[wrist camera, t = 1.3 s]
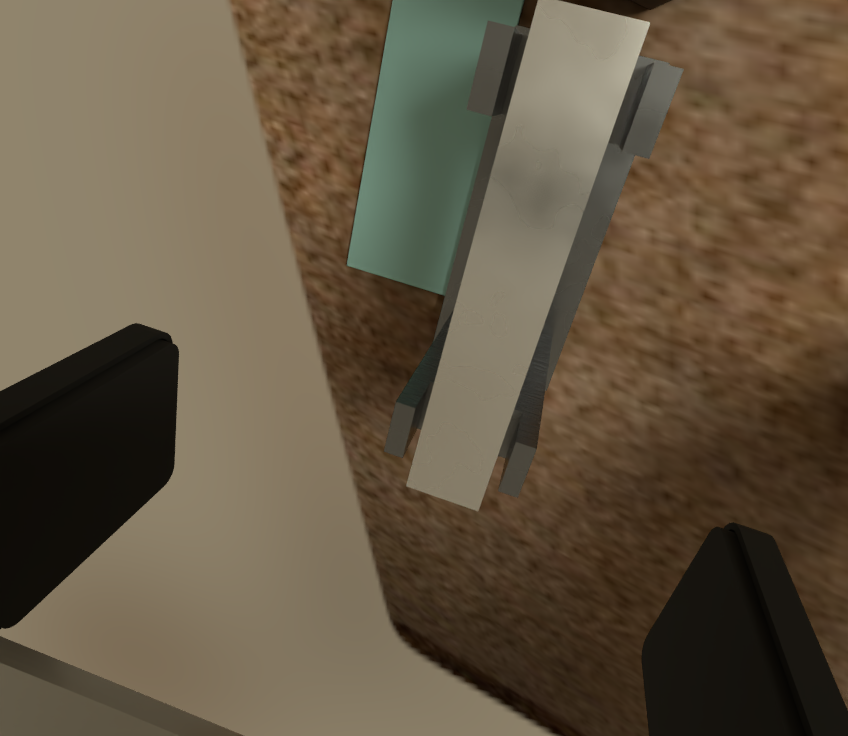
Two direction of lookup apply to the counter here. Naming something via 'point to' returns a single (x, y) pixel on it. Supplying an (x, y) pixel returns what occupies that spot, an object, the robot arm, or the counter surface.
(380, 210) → the mat
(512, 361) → the rail
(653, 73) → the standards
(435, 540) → the counter surface
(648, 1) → the beer bottle
